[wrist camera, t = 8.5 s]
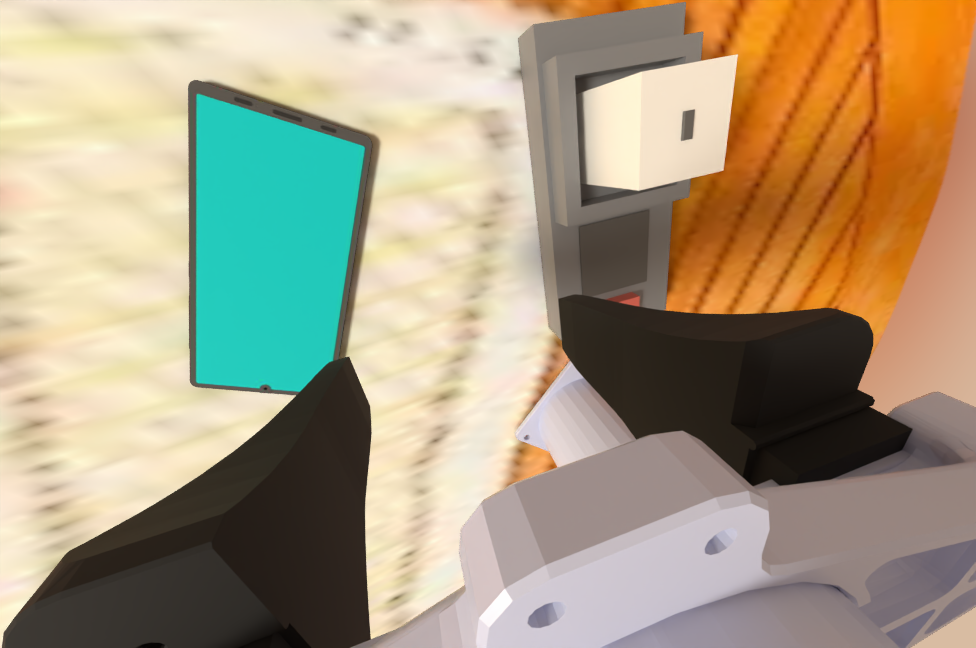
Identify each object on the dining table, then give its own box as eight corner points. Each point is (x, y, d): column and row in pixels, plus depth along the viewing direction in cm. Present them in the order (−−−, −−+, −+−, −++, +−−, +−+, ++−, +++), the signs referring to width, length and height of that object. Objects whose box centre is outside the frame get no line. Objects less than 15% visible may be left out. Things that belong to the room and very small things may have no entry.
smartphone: (373, 137, 17) (332, 398, 22) (373, 138, 18) (333, 390, 23) (184, 75, 14) (187, 386, 19) (194, 80, 15) (194, 378, 20)
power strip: (644, 340, 27) (678, 363, 24) (553, 368, 26) (575, 396, 23) (657, 17, 18) (711, -12, 15) (518, 38, 17) (547, 11, 14)
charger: (646, 168, 19) (726, 170, 15) (579, 183, 19) (641, 190, 14) (649, 80, 17) (741, 53, 13) (574, 94, 17) (644, 70, 12)
